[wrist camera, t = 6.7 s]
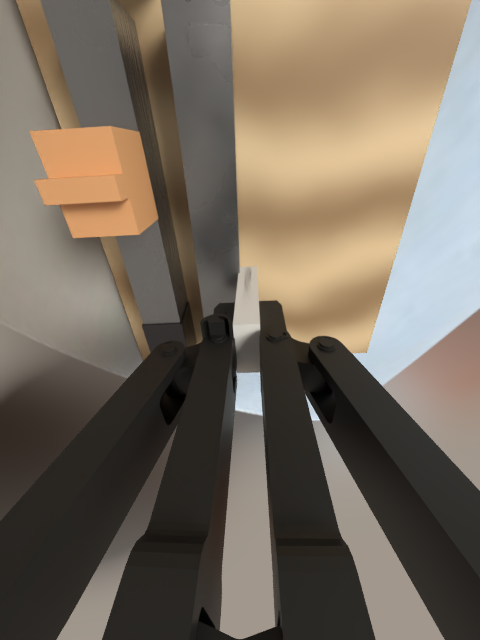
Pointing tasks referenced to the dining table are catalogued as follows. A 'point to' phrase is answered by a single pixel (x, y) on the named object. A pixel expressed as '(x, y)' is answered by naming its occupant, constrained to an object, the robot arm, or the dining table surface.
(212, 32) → the bar
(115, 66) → the tongs fixed
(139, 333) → the board
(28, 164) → the dining table surface
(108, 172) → the tab
